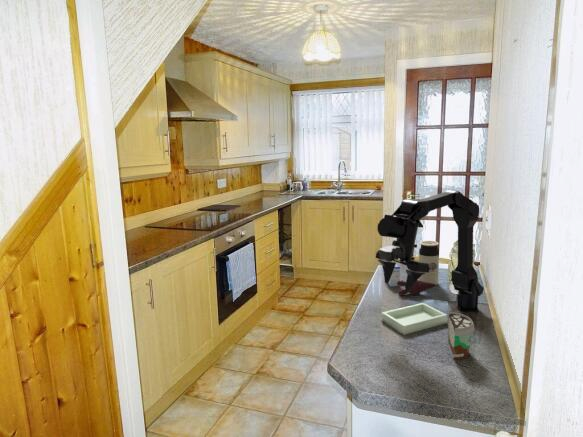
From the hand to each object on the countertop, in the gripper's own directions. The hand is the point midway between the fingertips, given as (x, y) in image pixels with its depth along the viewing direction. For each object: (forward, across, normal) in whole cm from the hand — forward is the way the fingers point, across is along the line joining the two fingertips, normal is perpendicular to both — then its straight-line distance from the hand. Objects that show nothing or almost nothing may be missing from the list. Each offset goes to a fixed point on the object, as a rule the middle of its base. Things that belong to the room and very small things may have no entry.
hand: (396, 287), depth 135 cm
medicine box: (+8, -35, +33) cm, 49 cm away
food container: (+13, +20, +11) cm, 26 cm away
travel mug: (+4, -26, +45) cm, 52 cm away
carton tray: (+12, -2, +14) cm, 19 cm away
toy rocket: (+8, -20, +32) cm, 39 cm away
